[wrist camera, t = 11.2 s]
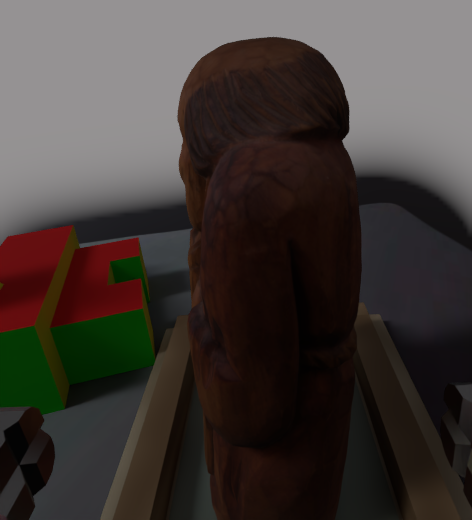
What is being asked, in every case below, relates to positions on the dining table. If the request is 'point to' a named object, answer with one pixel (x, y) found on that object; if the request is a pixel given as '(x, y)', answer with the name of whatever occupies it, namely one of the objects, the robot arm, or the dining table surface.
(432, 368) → the dining table surface
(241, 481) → the wooden figurine
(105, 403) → the dining table surface
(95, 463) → the dining table surface
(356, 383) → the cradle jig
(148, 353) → the building blocks toy
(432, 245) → the dining table surface
